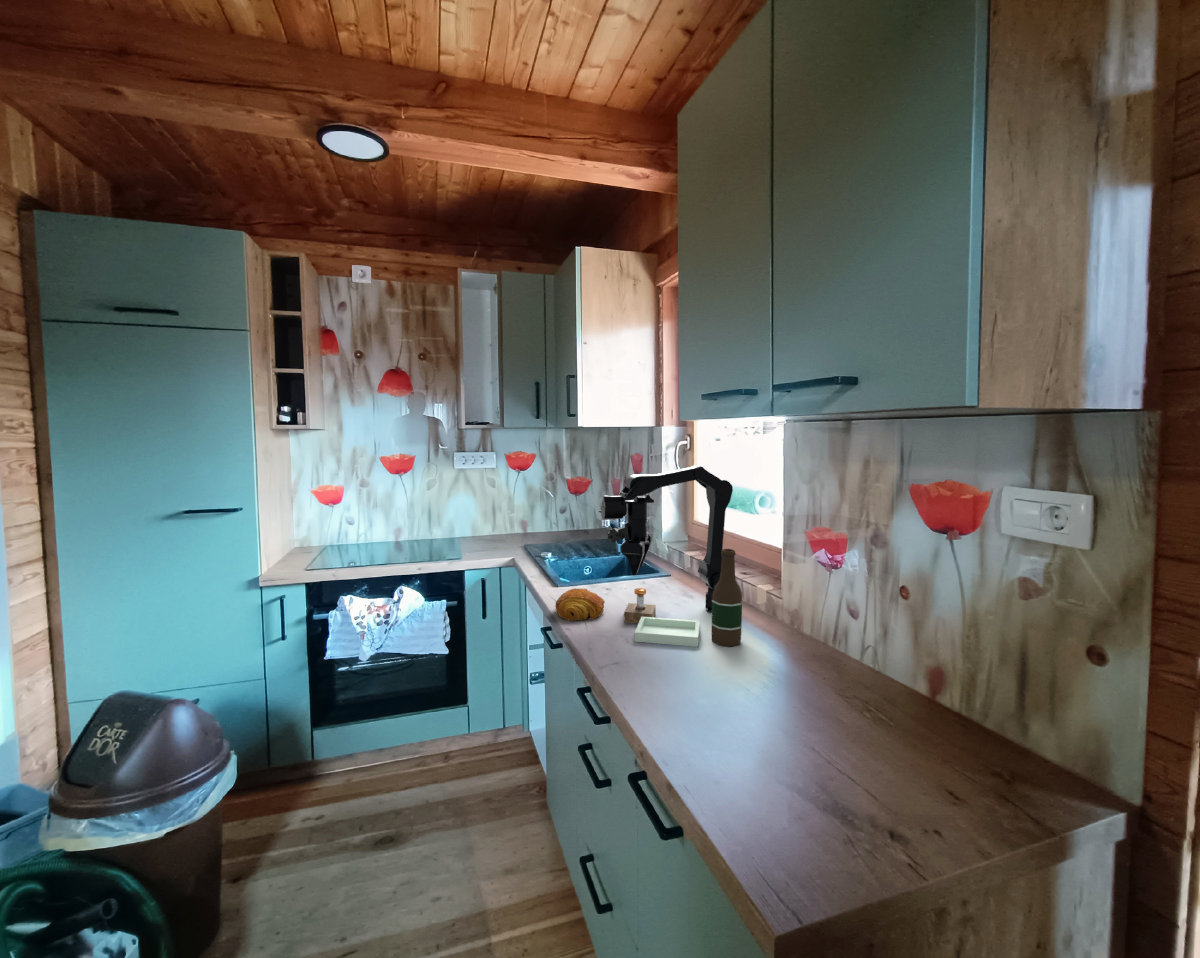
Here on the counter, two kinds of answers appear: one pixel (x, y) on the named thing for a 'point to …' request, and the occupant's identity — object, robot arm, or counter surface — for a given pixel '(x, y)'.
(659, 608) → the counter surface
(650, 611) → the block
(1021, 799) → the counter surface
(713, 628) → the beer bottle
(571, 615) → the croissant
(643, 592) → the pin
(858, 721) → the counter surface
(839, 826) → the counter surface
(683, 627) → the tray
